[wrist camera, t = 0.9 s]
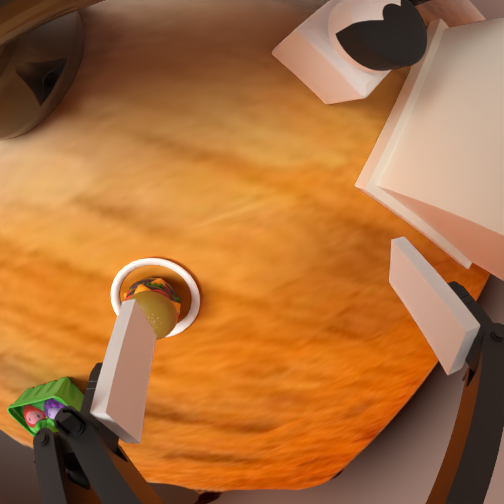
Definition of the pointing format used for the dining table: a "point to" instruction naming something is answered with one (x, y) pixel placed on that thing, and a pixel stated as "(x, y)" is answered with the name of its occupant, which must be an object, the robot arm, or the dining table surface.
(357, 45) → the medicine bottle
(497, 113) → the plinth
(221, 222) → the dining table surface
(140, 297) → the hamburger
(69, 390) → the fruit basket
